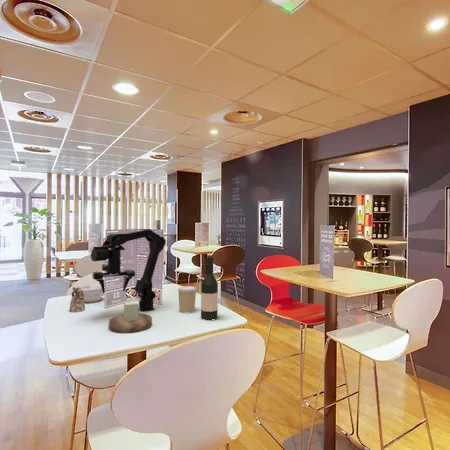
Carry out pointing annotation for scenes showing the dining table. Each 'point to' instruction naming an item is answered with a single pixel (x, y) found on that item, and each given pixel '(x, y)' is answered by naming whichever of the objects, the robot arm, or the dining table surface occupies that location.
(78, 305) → the figurine
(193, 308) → the coffee cup
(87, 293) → the paper bowls
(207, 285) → the wine bottle
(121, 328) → the walnut base
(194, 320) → the dining table surface
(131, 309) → the sage block
